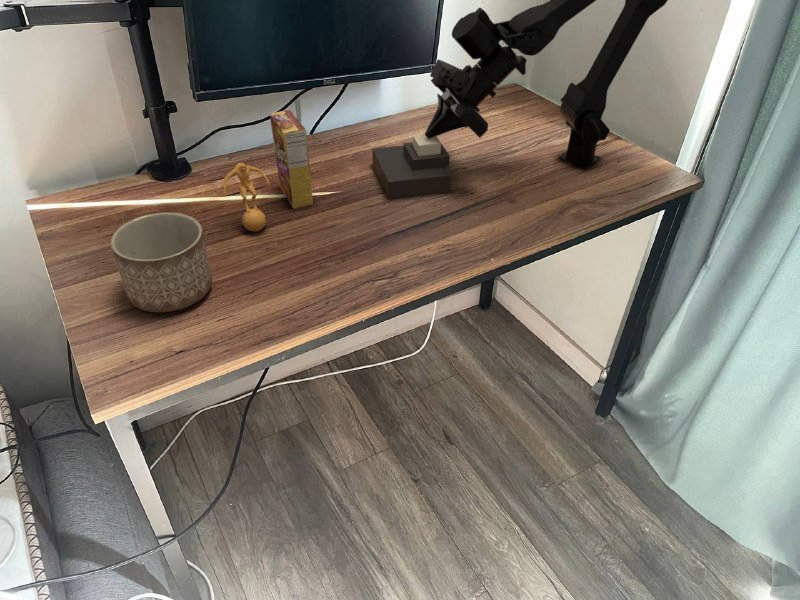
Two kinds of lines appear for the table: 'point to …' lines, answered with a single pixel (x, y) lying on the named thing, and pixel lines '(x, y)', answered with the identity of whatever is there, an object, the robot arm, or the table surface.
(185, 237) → the planter
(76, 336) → the table surface
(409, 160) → the stepped base
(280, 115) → the candy box
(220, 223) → the table surface
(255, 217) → the figure on ball
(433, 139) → the cream block
